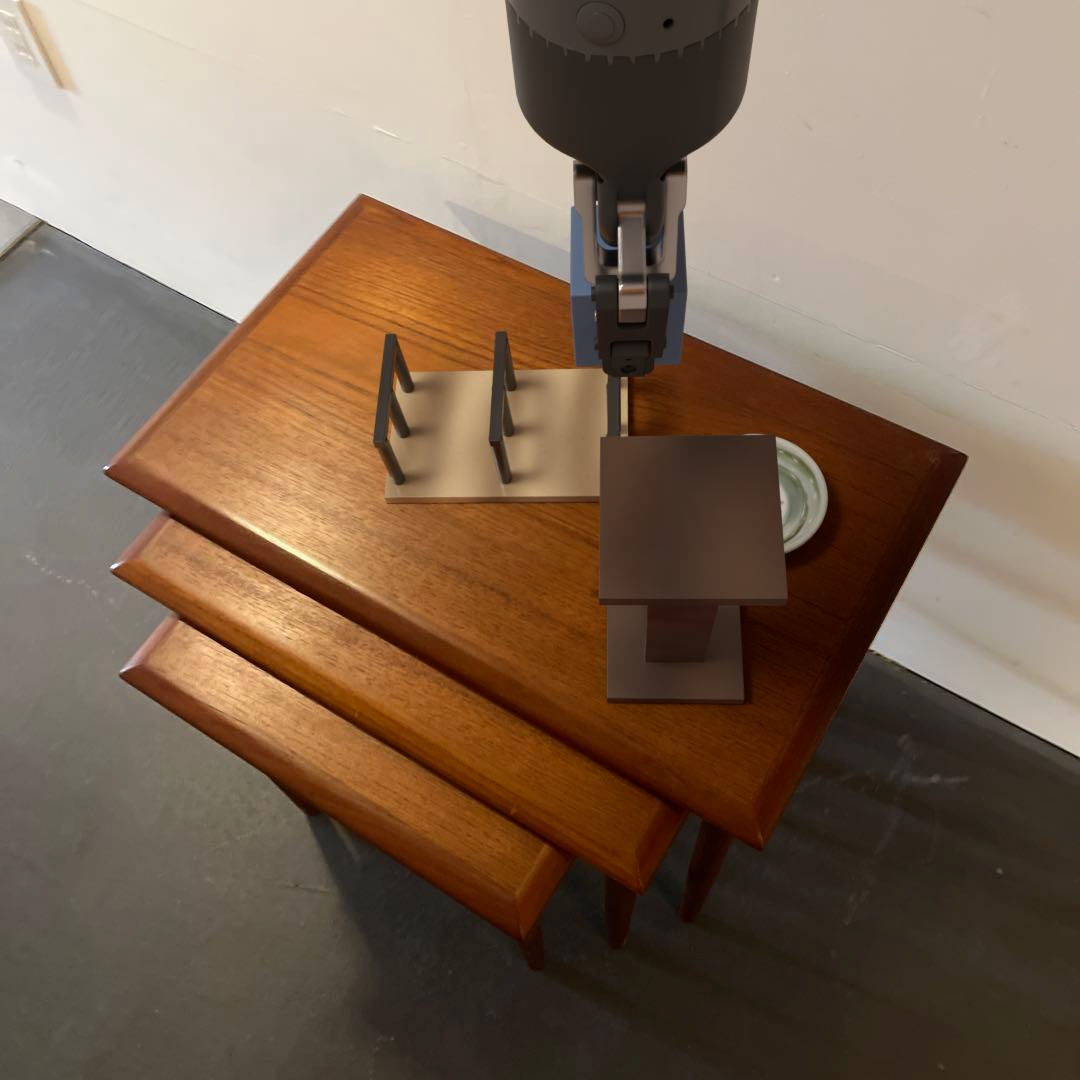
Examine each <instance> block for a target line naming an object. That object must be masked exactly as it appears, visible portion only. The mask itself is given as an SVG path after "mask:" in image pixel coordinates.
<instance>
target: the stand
mask: <svg viewBox="0 0 1080 1080" xmlns="http://www.w3.org/2000/svg"><path fill="white" fill-rule="evenodd" d="M776 437H777V435H776V434H764V435H745V434H717V435H715V434H713V435H711V434H710V435H638V436H637V435H636V436H634V435H633V436H630V435H628V436H623V437H600V502H599V507H598V509H599V511H598V512H599V516H598V517H599V518H598V519H599V520H598V522H599V523H598V536H599V537H598V605H599V606H606V688H605V689H606V693H605V694H606V703H612V704H613V703H614V704H615V703H616V704H618V703H620V704H621V703H622V704H697V705H698V704H699V705H700V704H702V705H705V704H706V705H707V704H708V705H709V704H710V705H718V704H719V705H743V703H744V701H745V699H746V698H745V682H744V663H743V662H744V661H743V642H742V627H741V607H744V606H745V607H746V606H747V607H751V606H757V607H758V606H759V607H765V606H766V607H768V606H769V607H771V606H773V607H774V606H775V607H784V606H786V604H787V602H788V599H789V595H788V582H787V581H788V578H787V567H786V566H787V565H786V553H785V552H784V539H783V525H782V512H781V499H780V486H779V472H778V459H777V446H776ZM740 606H741V607H740Z"/></svg>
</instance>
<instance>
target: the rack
mask: <svg viewBox="0 0 1080 1080" xmlns="http://www.w3.org/2000/svg"><path fill="white" fill-rule="evenodd" d="M493 348H494V350H493V365H492V369H491V370H448V371H447V370H445V371H444V370H443V371H441V370H439V371H438V370H437V371H410V370H409V366H408V364H407V362H406V358H405V355H404V354H403V351H402V348H401V345H400V343H399V339H398V336H397V334H396V333H385V334H384V342H383V351H382V359H381V368H380V377H379V386H378V393H377V402H376V410H375V411H376V412H375V419H374V429H373V437H372V444H373V446H374V448H375V449H376V451H377V453H378V455H379V456H380V459H381V461H382V463H383V465H384V467H385V469H386V474H385V475H386V477H385V483H384V484H385V485H384V495H383V498H384V500H385V502H386V504H452V503H453V504H458V503H459V504H460V503H461V504H465V503H466V504H467V503H471V504H473V503H475V504H476V503H478V504H479V503H482V504H483V503H589V502H590V503H594V502H595V503H600V437H623V436H629V377H618V378H612V375H608V374H605V373H604V372H603V367H599V368H551V369H550V368H549V369H547V368H546V369H544V368H543V369H515V368H514V362H513V357H512V352H511V348H510V342H509V338H508V332H507V331H506V330H499V331H497V330H496V331H495V332H494V347H493ZM395 375H396V381H395ZM394 381H395V382H396V383H395V390H394ZM390 421H391V430H390V431H391V432H390V439H389V438H388V437H389V435H388V434H389V427H390Z"/></svg>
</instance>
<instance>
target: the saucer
mask: <svg viewBox="0 0 1080 1080" xmlns="http://www.w3.org/2000/svg"><path fill="white" fill-rule="evenodd" d="M744 435H765V434H764V433H745V434H744ZM776 446H777V459H778V472H779V486H780V499H781V512H782V525H783V539H784V552H785V554H788V553H790V552H792V551H794V550H797V549H799V548H800V547H802V546H803V545H804V544H806V543H807V542H808V541H810V539H812V538H813V536H814V535H815V534H816V533H817V532H818V530H819V528H820V527H821V525H822V524H823V521H824V519H825V517H826V514H827V510H828V503H829V493H828V487H827V483H826V480H825V477H824V474H823V473H822V471H821V469H820V467H819V466H818V464H817V462H816V461H815V460H814V459H813V458H812V457H811V456H810V454H808V453H807V452H806V451H805V450H804V449H802V448H801V447H799V446H798V445H797V444H795V443H793V442H792V441H791V442H790V441H789V440H787V439H784V438H782V437H778V436H776Z"/></svg>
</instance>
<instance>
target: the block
mask: <svg viewBox="0 0 1080 1080" xmlns="http://www.w3.org/2000/svg"><path fill="white" fill-rule="evenodd" d="M596 218H597V241H598V243H599V245H600V246H601V247H603V248H604V249H608V250H614V249H618V247H611V246H609V245H607V244H606V243H605V242H604V241H603V240H602V238H601V236H600V232H599V224H598V204H596ZM685 232H686V231H685V213H684V210H683V211H682V212H681V213H680V214H679V217H678V236H677V258H676V274H675V276H674V278H673V279H672V280H671V281H670V284H674V299H670V307H669V314H668V321H667V328H666V348H665V349H663V356H662V358H655V360H654V366H661V365H667V366H668V365H680V364H681V360H682V352H683V342H684V331H685V321H686V311H687V303H688V293H689V292H688V289H689V288H688V274H687V273H688V271H687V255H686V254H687V251H686V236H685V234H686V233H685ZM661 236H662V229H661V231H660V233H659V235H658V237H657V239H656V240H655V241H654V242H653V243H651V244H650V245H647V246H646V248H652V247H655V246H656V245H657V244H658V243H659V242H660V240H661ZM569 253H570V254H569V255H570V256H569V257H570V261H569V263H570V264H569V301H570V313H571V327H572V328H571V329H572V339H573V340H572V341H573V354H574V365H575V367H576V368H582V367H584V368H585V367H586V368H587V367H602V360H599V358H598V350H594V337H597V322H595V309H596V301H594V302H591V286H593V285H591V284H589V283H588V282H587V281H586V280H585V278H584V265H583V237H582V219H581V217H580V216H579V215H578V214H577V213H576V211H575V208H574V205H572V206H571V207H570V252H569Z"/></svg>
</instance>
